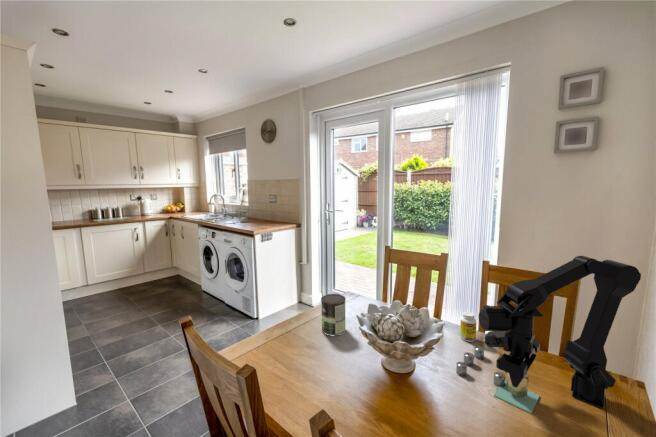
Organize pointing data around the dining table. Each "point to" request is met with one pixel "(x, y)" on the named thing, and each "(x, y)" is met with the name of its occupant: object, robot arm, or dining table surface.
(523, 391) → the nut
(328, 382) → the dining table surface
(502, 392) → the mat
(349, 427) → the dining table surface
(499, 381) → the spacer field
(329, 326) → the coffee can
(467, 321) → the supplement bottle
